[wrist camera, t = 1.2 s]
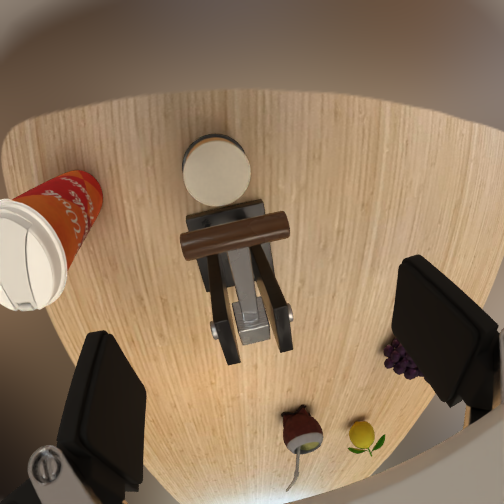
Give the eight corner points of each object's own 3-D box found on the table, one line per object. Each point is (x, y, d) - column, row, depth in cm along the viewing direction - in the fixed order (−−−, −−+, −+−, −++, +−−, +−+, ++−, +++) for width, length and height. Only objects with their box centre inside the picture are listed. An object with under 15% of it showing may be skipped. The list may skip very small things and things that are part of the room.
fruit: (379, 320, 48) (453, 309, 46) (374, 367, 52) (443, 355, 50) (396, 357, 39) (478, 340, 37) (386, 405, 42) (462, 388, 40)
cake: (175, 142, 28) (172, 147, 24) (240, 128, 28) (247, 131, 25) (190, 202, 31) (189, 216, 27) (251, 188, 31) (259, 200, 28)
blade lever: (177, 219, 15) (181, 259, 13) (279, 197, 15) (294, 233, 13) (219, 322, 24) (224, 350, 23) (280, 308, 25) (288, 334, 23)
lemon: (373, 411, 58) (390, 445, 49) (364, 424, 61) (379, 457, 52) (347, 417, 57) (364, 453, 48) (339, 430, 59) (353, 465, 51)
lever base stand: (185, 215, 32) (180, 300, 19) (261, 198, 32) (307, 270, 19) (206, 286, 36) (215, 387, 23) (272, 271, 36) (313, 363, 23)
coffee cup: (119, 228, 31) (77, 316, 18) (55, 237, 30) (-7, 320, 17) (106, 150, 27) (37, 194, 14) (39, 166, 26) (-48, 218, 13)
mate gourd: (320, 404, 52) (346, 469, 39) (300, 426, 55) (321, 487, 42) (286, 402, 50) (309, 474, 36) (267, 425, 52) (285, 492, 39)
